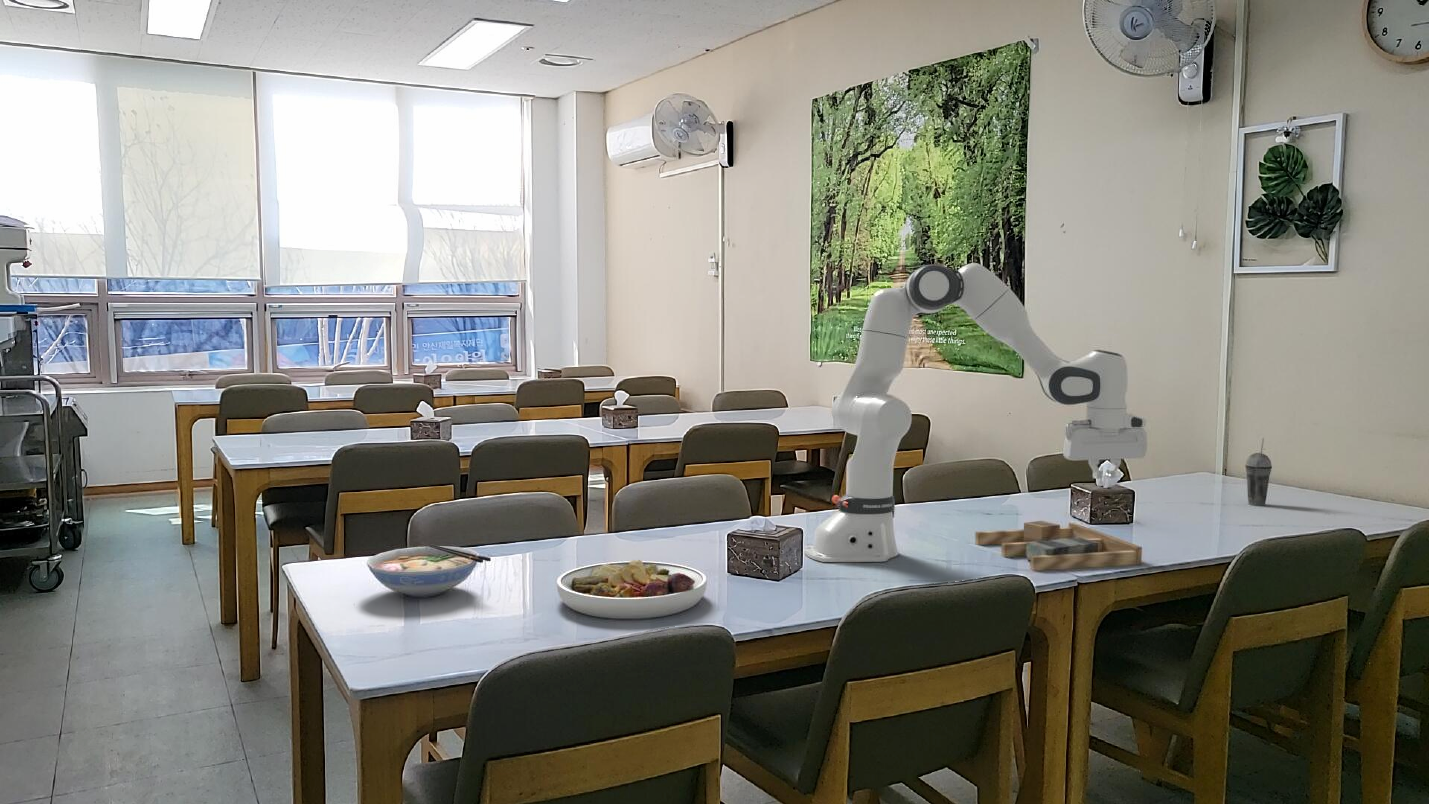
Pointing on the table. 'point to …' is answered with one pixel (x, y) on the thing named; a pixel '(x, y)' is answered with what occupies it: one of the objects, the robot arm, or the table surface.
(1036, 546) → the stone block
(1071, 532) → the divided wooden tray
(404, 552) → the ramen bowl
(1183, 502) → the table surface
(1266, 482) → the beverage cup
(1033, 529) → the walnut block
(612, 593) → the bowl
